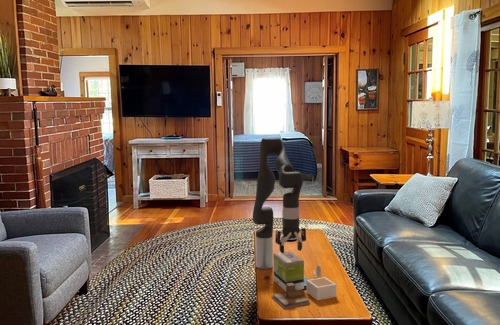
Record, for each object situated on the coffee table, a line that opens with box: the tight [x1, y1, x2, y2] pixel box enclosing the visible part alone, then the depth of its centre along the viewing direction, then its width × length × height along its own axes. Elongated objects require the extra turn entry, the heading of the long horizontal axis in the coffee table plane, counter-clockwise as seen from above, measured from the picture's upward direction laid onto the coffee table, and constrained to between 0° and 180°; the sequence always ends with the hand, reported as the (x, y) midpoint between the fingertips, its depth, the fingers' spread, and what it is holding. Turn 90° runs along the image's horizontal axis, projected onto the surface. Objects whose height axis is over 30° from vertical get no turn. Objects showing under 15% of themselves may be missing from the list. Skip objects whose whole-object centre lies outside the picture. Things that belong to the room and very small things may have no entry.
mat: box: [271, 295, 311, 310], centre depth 200 cm, size 13×13×1 cm
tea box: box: [273, 250, 305, 292], centre depth 216 cm, size 15×10×15 cm, turn 21°
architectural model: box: [312, 264, 322, 278], centre depth 225 cm, size 3×7×7 cm, turn 175°
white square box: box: [306, 276, 337, 301], centre depth 205 cm, size 10×10×6 cm
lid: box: [272, 283, 310, 307], centre depth 199 cm, size 12×12×7 cm
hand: (290, 251), depth 198 cm, fingers open, 8 cm apart
